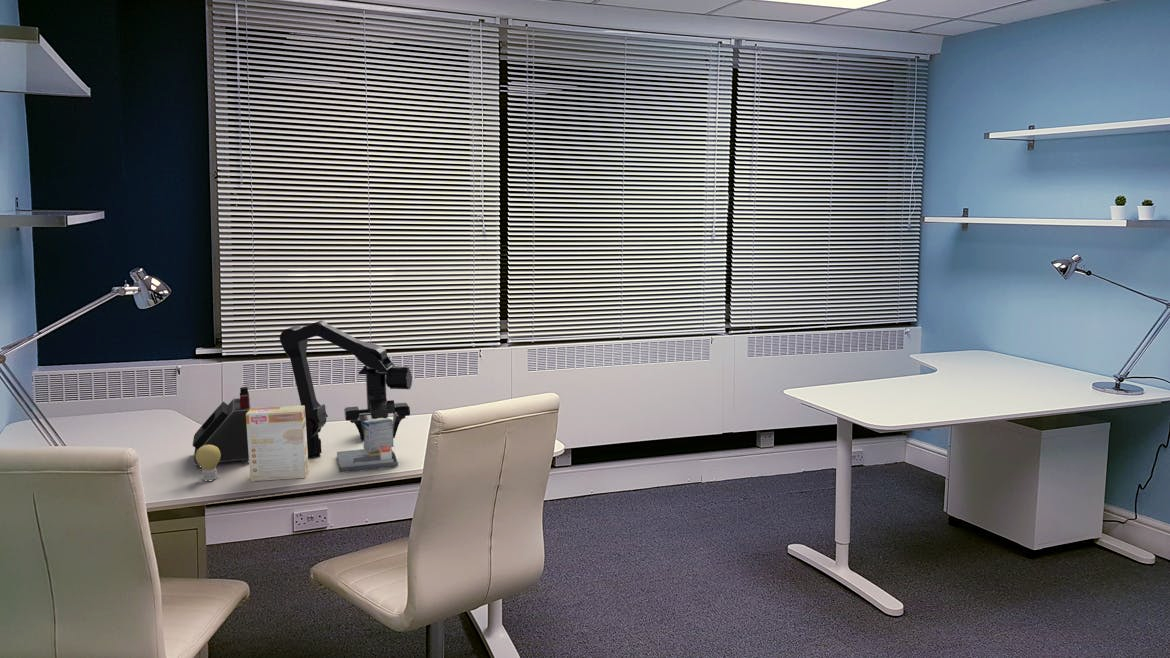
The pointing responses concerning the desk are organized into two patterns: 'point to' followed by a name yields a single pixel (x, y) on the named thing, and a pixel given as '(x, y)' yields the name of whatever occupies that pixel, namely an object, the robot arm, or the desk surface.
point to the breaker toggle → (385, 453)
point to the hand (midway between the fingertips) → (378, 439)
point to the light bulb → (208, 461)
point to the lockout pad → (374, 453)
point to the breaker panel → (363, 461)
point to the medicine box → (377, 434)
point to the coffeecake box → (277, 443)
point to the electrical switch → (365, 419)
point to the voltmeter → (227, 429)
